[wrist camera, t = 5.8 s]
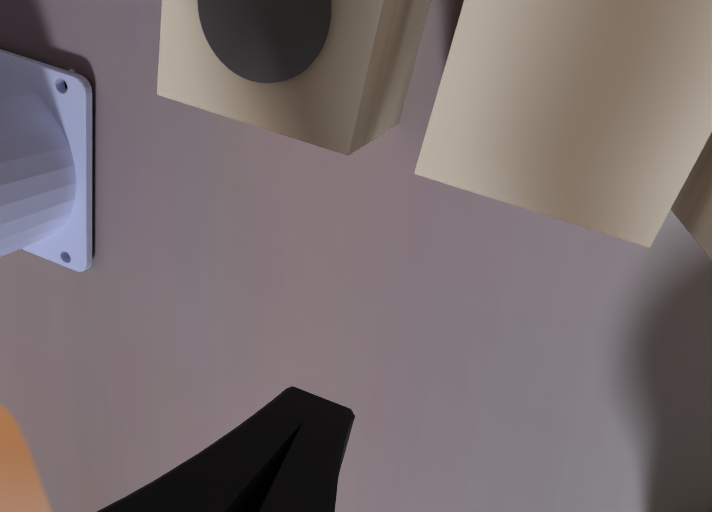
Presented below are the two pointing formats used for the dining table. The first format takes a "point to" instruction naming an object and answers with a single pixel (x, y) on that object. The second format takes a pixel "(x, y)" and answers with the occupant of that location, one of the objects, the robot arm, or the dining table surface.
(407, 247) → the dining table surface
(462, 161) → the plain block
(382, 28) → the dotted block
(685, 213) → the dotted block
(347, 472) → the dining table surface
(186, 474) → the robot arm
